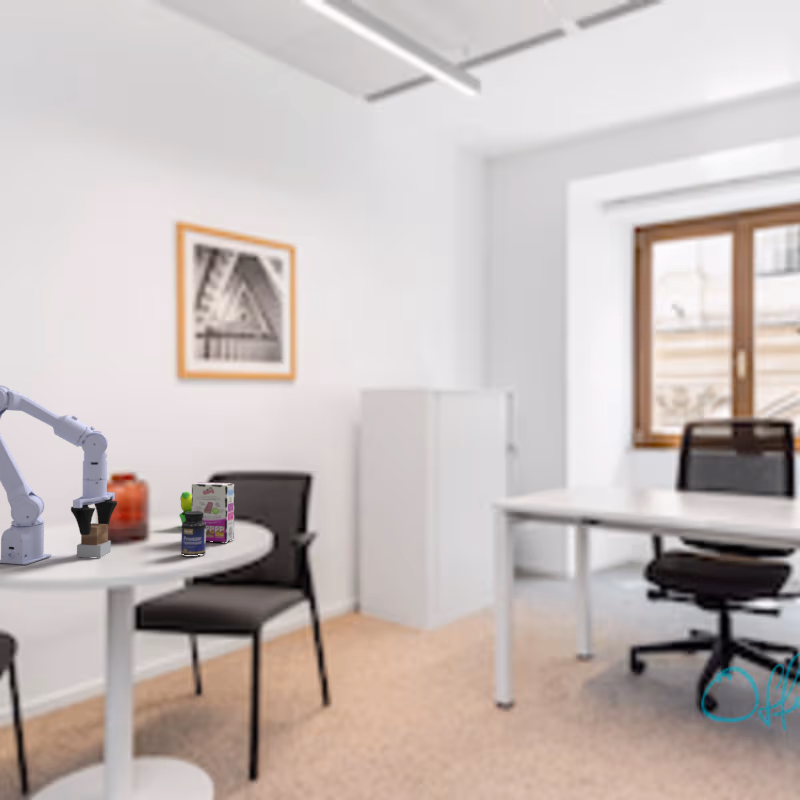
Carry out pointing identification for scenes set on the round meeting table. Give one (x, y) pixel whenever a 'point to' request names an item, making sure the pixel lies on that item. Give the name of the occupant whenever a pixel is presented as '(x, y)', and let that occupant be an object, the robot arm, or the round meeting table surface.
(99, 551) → the grey block
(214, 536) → the candy bar box
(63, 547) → the round meeting table surface
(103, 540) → the walnut cube
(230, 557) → the round meeting table surface
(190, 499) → the yellow green toy
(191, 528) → the pill bottle
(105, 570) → the round meeting table surface
